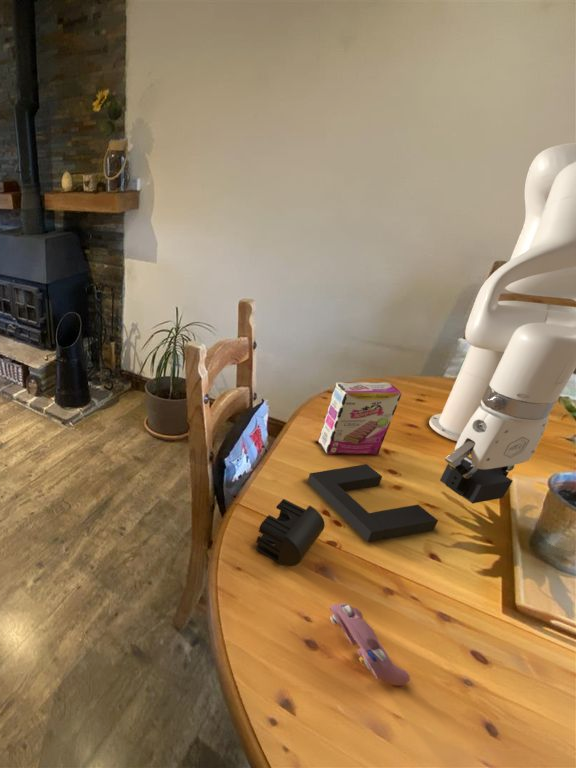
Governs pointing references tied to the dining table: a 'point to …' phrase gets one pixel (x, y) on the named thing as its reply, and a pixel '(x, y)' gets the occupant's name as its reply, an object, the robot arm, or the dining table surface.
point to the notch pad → (364, 523)
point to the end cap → (289, 533)
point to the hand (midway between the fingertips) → (471, 486)
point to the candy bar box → (358, 417)
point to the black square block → (483, 484)
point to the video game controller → (367, 644)
